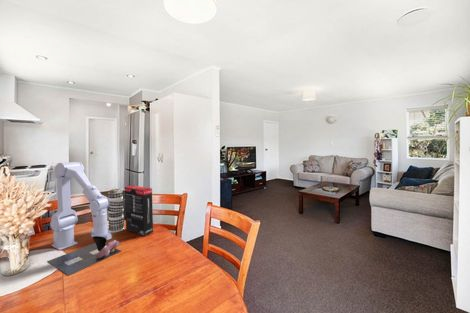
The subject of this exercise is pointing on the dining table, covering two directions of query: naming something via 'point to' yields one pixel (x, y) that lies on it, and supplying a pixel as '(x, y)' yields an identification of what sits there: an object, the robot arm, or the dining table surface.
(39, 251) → the dining table surface
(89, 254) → the panel
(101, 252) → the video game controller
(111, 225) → the decorative candle
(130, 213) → the graphics card box
